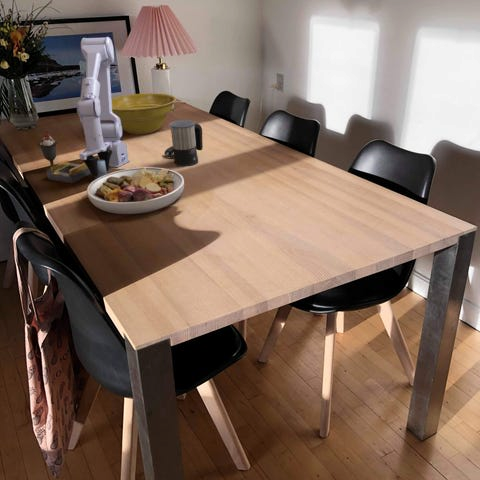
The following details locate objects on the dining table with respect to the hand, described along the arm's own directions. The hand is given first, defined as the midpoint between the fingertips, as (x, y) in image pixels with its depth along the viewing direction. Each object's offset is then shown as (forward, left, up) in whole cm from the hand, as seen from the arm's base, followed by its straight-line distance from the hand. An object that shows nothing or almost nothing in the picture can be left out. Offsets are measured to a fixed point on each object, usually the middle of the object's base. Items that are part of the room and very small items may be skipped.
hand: (100, 173), depth 178 cm
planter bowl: (+21, -55, -2) cm, 59 cm away
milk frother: (-17, -26, -2) cm, 31 cm away
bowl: (-23, +10, -2) cm, 25 cm away
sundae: (+22, 0, -2) cm, 22 cm away
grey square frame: (+12, +2, -2) cm, 12 cm away
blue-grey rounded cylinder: (0, 0, -2) cm, 2 cm away
